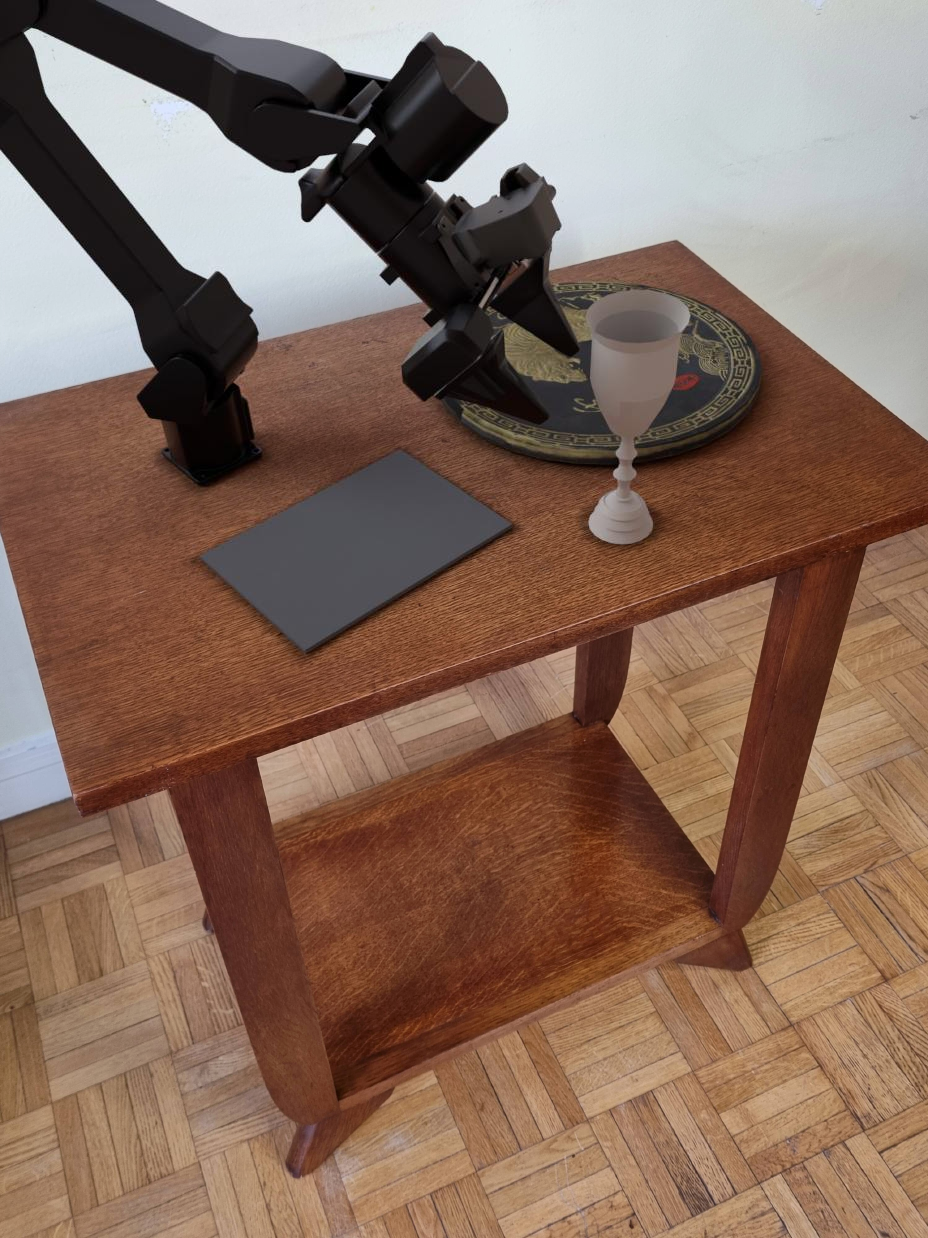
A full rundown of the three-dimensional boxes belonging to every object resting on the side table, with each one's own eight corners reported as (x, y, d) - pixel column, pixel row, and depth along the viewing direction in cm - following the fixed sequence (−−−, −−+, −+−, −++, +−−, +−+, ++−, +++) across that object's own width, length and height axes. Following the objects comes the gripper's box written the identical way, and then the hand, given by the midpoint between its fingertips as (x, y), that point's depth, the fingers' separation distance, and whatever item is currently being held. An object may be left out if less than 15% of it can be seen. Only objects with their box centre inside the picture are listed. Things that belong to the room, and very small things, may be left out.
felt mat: (305, 654, 77) (305, 650, 76) (200, 559, 84) (199, 555, 84) (512, 527, 86) (512, 523, 85) (400, 452, 93) (400, 448, 93)
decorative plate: (835, 372, 96) (565, 494, 85) (831, 391, 98) (564, 513, 86) (619, 251, 115) (374, 339, 104) (618, 268, 116) (375, 356, 105)
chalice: (611, 484, 89) (626, 279, 77) (682, 516, 86) (710, 308, 73) (558, 529, 85) (564, 322, 73) (630, 565, 82) (650, 354, 69)
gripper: (436, 206, 62) (617, 398, 67) (523, 91, 75) (669, 260, 80) (327, 315, 69) (496, 481, 74) (422, 194, 82) (562, 343, 87)
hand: (561, 385), depth 79 cm, fingers open, 9 cm apart
